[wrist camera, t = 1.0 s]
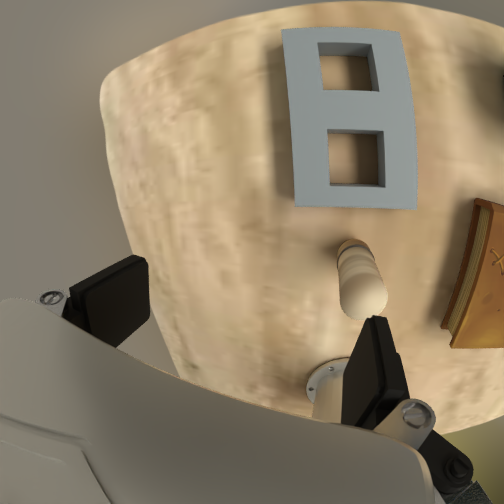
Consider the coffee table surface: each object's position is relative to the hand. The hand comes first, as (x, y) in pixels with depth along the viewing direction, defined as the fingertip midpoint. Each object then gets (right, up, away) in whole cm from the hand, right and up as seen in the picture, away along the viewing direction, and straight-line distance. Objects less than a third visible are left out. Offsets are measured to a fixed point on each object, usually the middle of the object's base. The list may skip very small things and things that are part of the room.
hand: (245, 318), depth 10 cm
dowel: (+12, +3, +21) cm, 24 cm away
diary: (+39, -1, +15) cm, 42 cm away
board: (+11, +18, +16) cm, 26 cm away
